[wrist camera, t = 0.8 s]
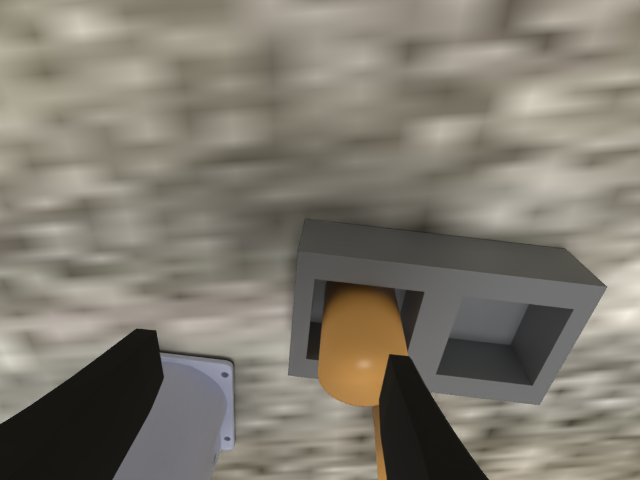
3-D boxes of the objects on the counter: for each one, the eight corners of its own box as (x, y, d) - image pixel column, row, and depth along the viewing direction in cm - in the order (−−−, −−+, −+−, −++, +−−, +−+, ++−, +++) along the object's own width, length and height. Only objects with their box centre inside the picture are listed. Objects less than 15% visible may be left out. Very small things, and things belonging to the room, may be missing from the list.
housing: (513, 357, 23) (568, 459, 17) (295, 331, 23) (279, 424, 18) (565, 248, 19) (658, 333, 14) (305, 218, 20) (288, 290, 14)
